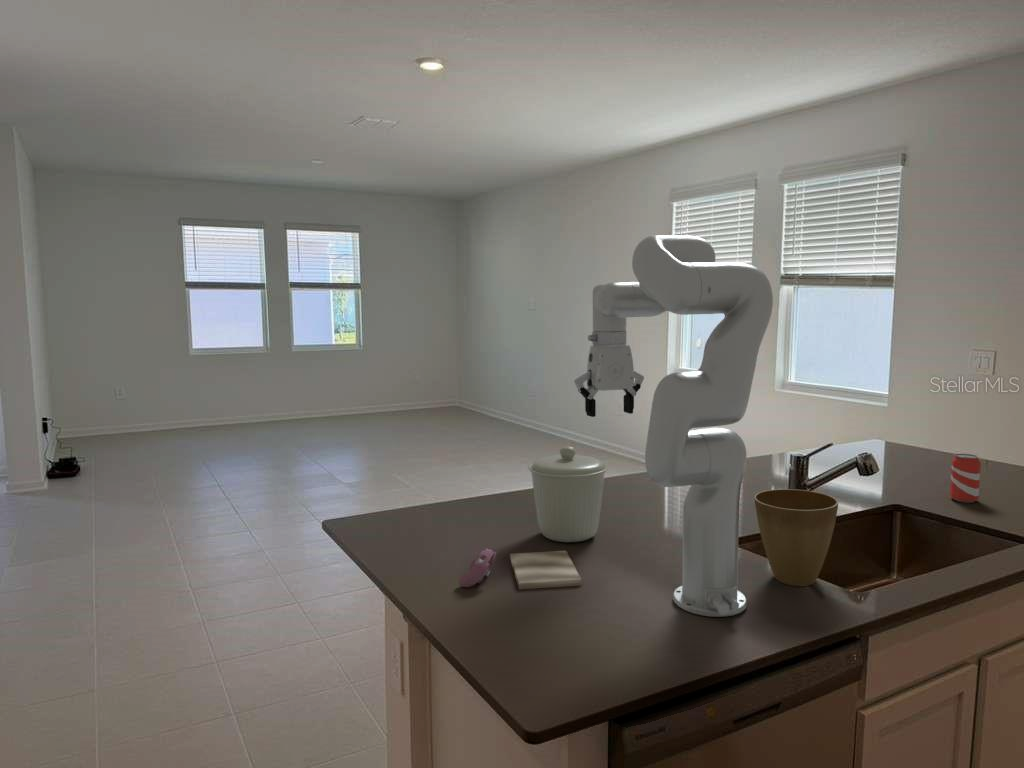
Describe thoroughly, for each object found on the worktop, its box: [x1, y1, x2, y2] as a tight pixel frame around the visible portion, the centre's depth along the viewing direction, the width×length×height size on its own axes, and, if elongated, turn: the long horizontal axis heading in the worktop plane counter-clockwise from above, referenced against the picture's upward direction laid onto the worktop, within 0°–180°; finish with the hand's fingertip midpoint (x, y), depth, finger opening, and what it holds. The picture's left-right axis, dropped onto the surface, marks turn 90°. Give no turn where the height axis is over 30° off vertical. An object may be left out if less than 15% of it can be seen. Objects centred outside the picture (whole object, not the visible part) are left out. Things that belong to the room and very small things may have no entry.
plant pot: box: [753, 488, 839, 587], centre depth 136 cm, size 15×15×16 cm
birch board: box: [509, 550, 582, 590], centre depth 142 cm, size 16×12×1 cm
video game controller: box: [458, 548, 497, 588], centre depth 139 cm, size 10×5×7 cm, turn 168°
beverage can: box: [949, 453, 982, 504], centre depth 186 cm, size 6×6×12 cm
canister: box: [528, 445, 608, 543], centre depth 163 cm, size 18×18×21 cm
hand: (609, 414), depth 161 cm, fingers open, 9 cm apart
